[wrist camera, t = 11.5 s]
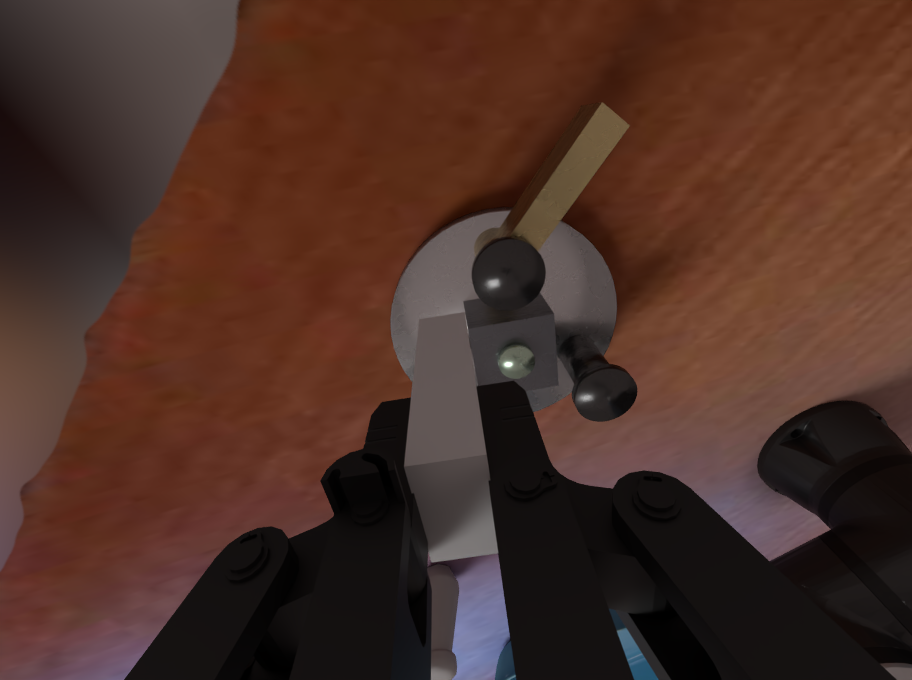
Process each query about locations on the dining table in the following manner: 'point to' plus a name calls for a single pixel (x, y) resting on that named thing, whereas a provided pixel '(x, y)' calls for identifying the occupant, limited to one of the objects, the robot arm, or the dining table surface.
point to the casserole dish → (635, 658)
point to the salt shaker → (443, 621)
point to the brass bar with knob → (542, 211)
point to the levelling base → (454, 284)
